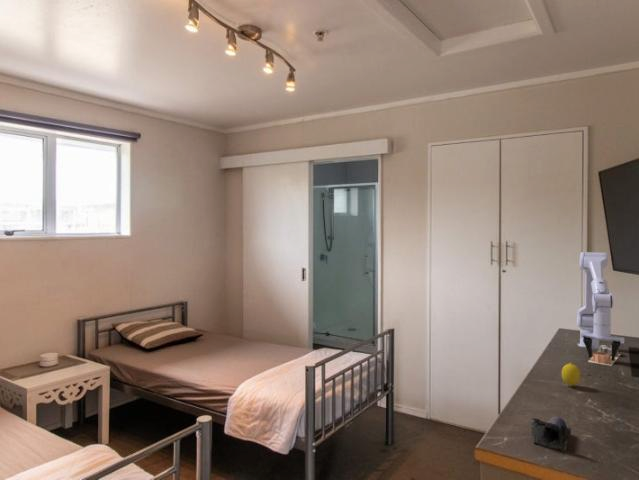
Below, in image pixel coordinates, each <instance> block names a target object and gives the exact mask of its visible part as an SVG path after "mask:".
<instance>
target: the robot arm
mask: <svg viewBox="0 0 639 480" xmlns="http://www.w3.org/2000/svg"><path fill="white" fill-rule="evenodd" d="M608 257H609V256H608V253H606V252H604V251H603V252H593V251H592V252H589V251H586V252H584V251H581V252H580V254H579V269H581V270H583V271H584V306H582V307H580V308H579V309H577V314H576V325H577V327H579V328H580V332H579V343H577V347H581V348H586V350H587V353H588V358H592V357H593V349H595V350H598V345H600V341H605V342H611V346H612V358H611V360H612V361H614V360H615V355H616V352H617V350H618V351H619V348H620V346H621V344H625V337H622V336H616V335H611V332H612V331H611V328H612V327H611V326H612V324H611V322H612V321H611V320H612V317H611V316H612V309H613V307H614V298H613V294H612V292H611V291H610V289H609V284H608V281H607V280H606V279H605V278H604V269H606V267H607V265H608V261H609V260H608Z"/></svg>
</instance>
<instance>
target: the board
mask: <svg viewBox="0 0 639 480" xmlns="http://www.w3.org/2000/svg"><path fill="white" fill-rule="evenodd" d="M597 352H603V353H607V354H610V363H599V362H596V361H593V356H592V357H590V358H589V360H588V361H587V362H588V363H593V364H598V365H599V364H600V365H603V366H604V365H605V366H611V367H612V366H613V365H614V363H615V362H616V361H617V360H618V359H619V357H620V356H621V353H619V349H618V350H617V352H616V355H615V360H614V361H612V360H611V358H612V344H607V345H605V344H601V345H600V344H599V345H598V349H597Z"/></svg>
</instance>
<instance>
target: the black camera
mask: <svg viewBox="0 0 639 480" xmlns="http://www.w3.org/2000/svg"><path fill="white" fill-rule="evenodd" d="M530 420H531V421H532V422H530V423H531V436H532V439H533V441H532V442H533V444H537V445H541V446H543V447H544V446H545V448H547V449H550V448H551V449H555V450H557V451H561V452H566V451H567V447H568V442H569V440H570V437H571V434H572V429H573V428H571V427H568V426H567V423H566V422H565V420H564V419H562V418H561V417H559V416H552V417H550V418H549V419H548V420H547V421H543V420H540V419H538V418H534V417H532V418H531V419H530ZM554 432H555V433H557V436H555V435H554Z"/></svg>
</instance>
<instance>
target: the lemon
mask: <svg viewBox="0 0 639 480" xmlns="http://www.w3.org/2000/svg"><path fill="white" fill-rule="evenodd" d="M561 378H562V380H563V382H564V383H565V384H567V385H568V386H569V387H573V386H575V385H577V384H578V383H579V382H580V379H581V371H580V369H579V368H578V366H576V365H575V364H573V363H572V362H569V363H567V364H564V366H563V367H562V368H561Z"/></svg>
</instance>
